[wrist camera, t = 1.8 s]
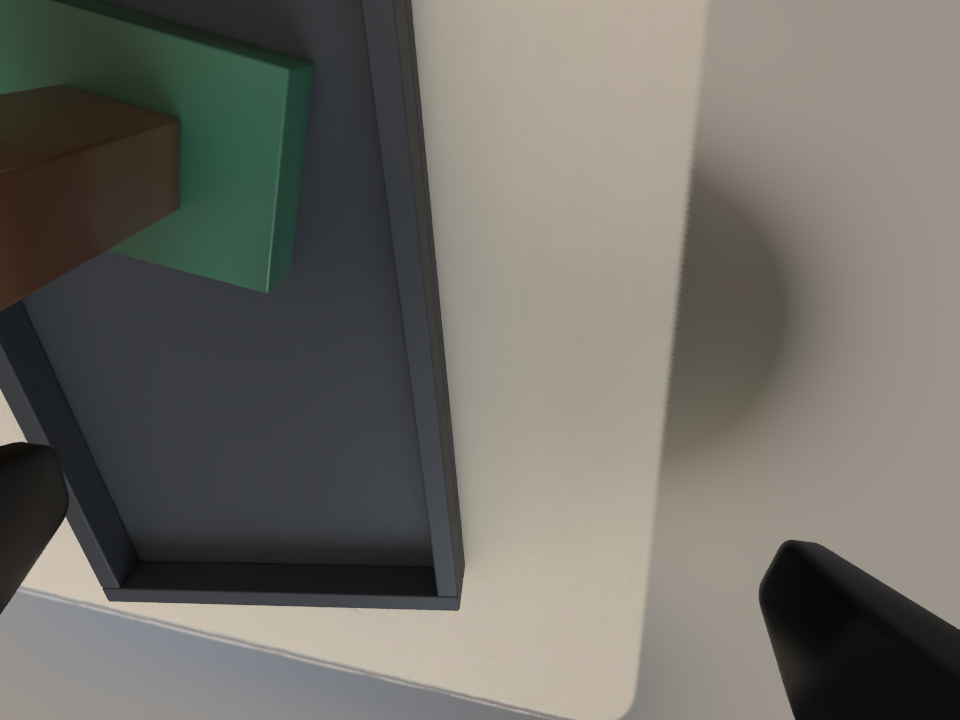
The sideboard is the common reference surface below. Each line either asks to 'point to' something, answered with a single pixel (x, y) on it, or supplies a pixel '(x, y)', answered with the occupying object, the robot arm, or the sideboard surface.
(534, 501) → the sideboard surface
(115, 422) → the tray
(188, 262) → the brown post on base
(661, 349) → the sideboard surface
